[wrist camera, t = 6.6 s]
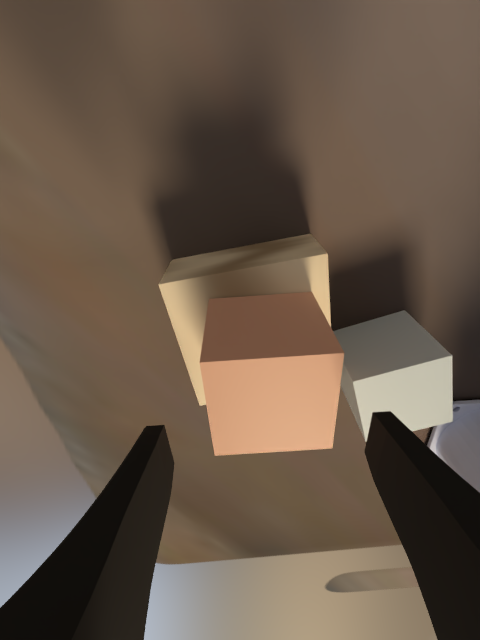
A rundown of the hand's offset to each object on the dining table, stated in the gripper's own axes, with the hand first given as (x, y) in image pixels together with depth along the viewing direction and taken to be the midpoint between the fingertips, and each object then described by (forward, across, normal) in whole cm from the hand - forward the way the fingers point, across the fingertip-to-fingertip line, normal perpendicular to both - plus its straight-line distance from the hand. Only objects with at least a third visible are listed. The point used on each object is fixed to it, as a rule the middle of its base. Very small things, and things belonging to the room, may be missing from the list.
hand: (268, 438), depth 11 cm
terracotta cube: (+6, 0, 0) cm, 6 cm away
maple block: (+10, 0, 0) cm, 10 cm away
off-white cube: (+10, -8, +4) cm, 13 cm away
